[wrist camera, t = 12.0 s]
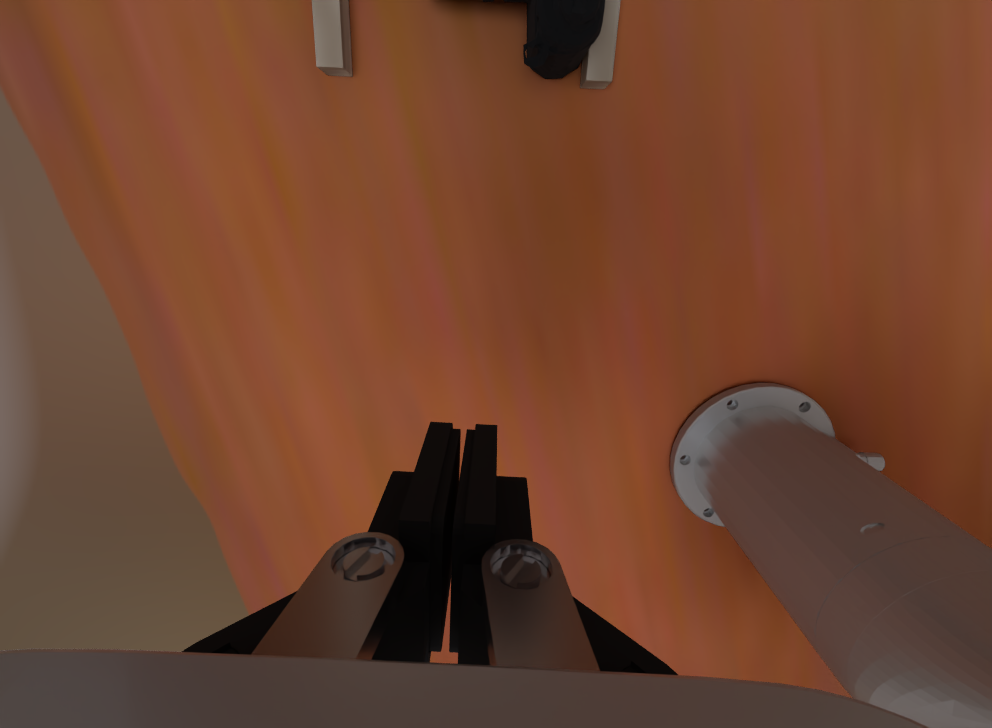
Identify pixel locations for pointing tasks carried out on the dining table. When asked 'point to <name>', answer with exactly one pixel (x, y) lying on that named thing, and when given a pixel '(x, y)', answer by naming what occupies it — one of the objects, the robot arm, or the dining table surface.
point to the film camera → (560, 34)
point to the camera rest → (336, 43)
